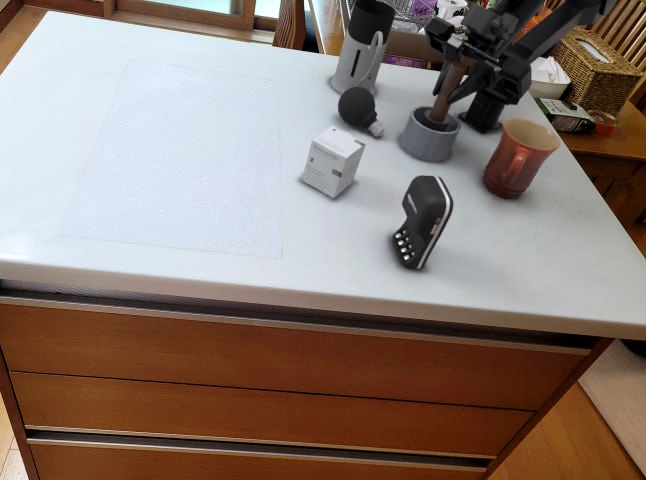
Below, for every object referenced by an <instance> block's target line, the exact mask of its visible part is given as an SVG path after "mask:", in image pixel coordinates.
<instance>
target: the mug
mask: <svg viewBox="0 0 646 480" xmlns="http://www.w3.org/2000/svg"><path fill="white" fill-rule="evenodd" d="M502 124H503V127H502V130H501V135H500V139H499V142H498V144H497V146H496V148H495V149H494V150H493V153H492V154H491V156H490V158H489V160H488V161H487V164H486V165H485V168H484V171H483V173H482V178H481V179H482V183H483V185H484V186H485V188H486V189H487V190H488V191H489V192H490V193H492V194H494V195H495V196H498V197H501V198H504V199H514V198H519V197H521V196H522V195H523V194H524V193H525V192H526V191H527V189H528V188H529V187H531V184H532V183H533V181H534V179H535V177H536V175H538V172H539V170H540V168H541V167H542V165H543V164H544V162H545V161H546V160H547V159H548V158H549V157H550V156H551V155H552V154H553V153H554V152H555V151H557V150H558V149H559V147H560V145H561V141H560V139H559V137H558V136H557V135H556V133H555V132H554V131H552V130H551V129H549V128H548V127H547V126H546V125H545V126H544V125H543V124H541V123H539V122H536V121H533V120H530V119H527V118H520V117H514V118H508V119H507V120H505V121H504V122H503V123H502Z"/></svg>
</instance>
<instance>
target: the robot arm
mask: <svg viewBox="0 0 646 480" xmlns="http://www.w3.org/2000/svg"><path fill="white" fill-rule="evenodd" d="M544 1H545V0H498V1H497V3H496V4H495V5H494V6H493V7H491V6H489V7H487V8H486V7H484V6H481V5H479V4H477V3H475V2H472V3H471V5H470V7H469V8H468V10H467V11H466V13H465V15H464V16H463V18H462V20H461V21H460V26H464V27H466V29H464V37H467V39H466V40H465V39H464V38H463V37H461V36H460V35H458V34H457V32H456V27H455V24H454V23H451V22H449V21H448V20H445V19H444V18H441V17H439V16H435V17H432V18H431V19H429V20H428V22H427V23H426V24H425V25H424V27H423V30H424V34H425V38H426V41H427V45H428V47H429V48H430V49H431V50H433V51H434V52H437V53H438V54H440V55H442V56H444V60H443V63H442V67H441V70H440V73H439V75H438V77H437V80H436V83H435V84H434V87H433V90H432V96H433V97H437V95H438V93H439V91H440V88H441V86H442V83H443V81H444V78H445V76H446V73H447V71H448V68H449V66H450V64H451V62H452V61H458V62H461V63H462V61H461V60H462V59H463V58H464V57H465V58H467V59H469V60H470V61H472V62H474V64H473V69H472V71H470V74H468V75H467V76H466V78H465V79H464V80H462V81H461V83H460V85H459V87H458V88H457V89H456V90H455V91H454V92H453V93H452V94H451V96H450V97H449V99H448V100H447V104H448V105H451V106H452V105H453V104H455V103H457V102H458V101H461V100H462V99H464V98H466V97H468V96H470V95H473V94H475V95H474V96H473V99H472V100H471V103H470V105H469V107H468V109H467V110H466V111H463V112H459V113H458V114H457V118H459V119H461V120H462V121H464V122H465V123H466V124H468V125H469V126H471V127H472V128H474V129H475V130H476V131H478V132H479V133H481V134H485V133H489V132H492V131H494V130H497V129H498V130H499V129H501V128H502V129H503V124H504V123H502V122H500V121H499V119H500V117H501V114H502V112H503V111H504V109H505V108H506V106H507V107H508V106H510V105H512V106H517V105H518V104H519V102H520V100H521V99H522V98H523V97H524V96H525V95H526V93H527V92H528V91H529V89H530V88H531V86H532V79H533V78H532V74H533V70H532V65H531V64H533V63H534V62H535V61H536V60H537V59H539V58H540V57H541V56H543V55H544V54H545V53H546V52H547V51H548V50H549V49H551V48H552V47H553V46H554V45H556V43H558V42H560V40H561V39H563V38H564V37H565V36H566V35H567V34H569V33H570V32H571V31H572V30H573V29H575V28H576V27H581V26H590V25H593V24H595V23H596V22H597V21H599V20H600V19H602V18H603V17H606V16H607V15H608V14H610V12H611V11H612V9H613V8H614V6H615V5H616V3H617V0H562V2H561V4H560V5H558V6H557V7H556V8H555V9H553V10H552V11H551V12H550V13H549V14H547V15H546V16H545V17H543V18H542V19H541V20H540V21H539V22H538V23H536V24H535V25H534V26H533V27H531V28H530V29H529V30H527V31H526V32H525V33H524V34H523V35H521V36H520V37H519V38H518V39H517V37H518V36H519V35H520V33H521V32H522V31H523V30H524V28H525V27H527V25H528V24H529V22H530V21H531V20H532V19H533V18H534V17H536V18H537V17H539V16H540V14H541V12H542V7H543V6H544Z"/></svg>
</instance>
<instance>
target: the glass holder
mask: <svg viewBox="0 0 646 480" xmlns="http://www.w3.org/2000/svg"><path fill="white" fill-rule="evenodd" d="M396 13H397V10H396V8H394V7H393V6H392V5H390V4H388V3H386V2H385V1H381V0H355V1H354V3H353V7H352V11H351V14H350V19H349V22H348V26H347V27H346V30H345V34H344V37H343V42H342V46H341V49H340V54H339V58H338V61H337V65H336V69H335V72H334V75H333V77H332V78H331V79H330V86H331V87H332V88H333V90H334V91H336V92H338V93H340V94H341V95H342V94H343V93H344V92H345V91H346V90H347V89H349V88H352V87H363V88H365V89H367V90H369V91H370V92H371V94H372V95H373V96H374V95H375V92H376V91H375V84H376V80H377V78H378V75H379V70H380V68H381V64H382V61H383V58H384V55H385V52H386V49H387V47H388V46H387V45H388V43H389V38H390V34H391V30H392V27H393V24H394V20H395V17H396Z"/></svg>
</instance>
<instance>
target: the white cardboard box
mask: <svg viewBox="0 0 646 480" xmlns="http://www.w3.org/2000/svg"><path fill="white" fill-rule="evenodd" d="M366 146H367V142H365V141H363V140H361V139H359V138H357V137H355V135H353V134H351V133H349V132H347V131H344V130H342V129H340V128H338V127H336V126H335V125H331V126H330V127H328V128H327V129H326V130H324V131H323V132H322V133H320V134H319V135H317V136H315V137H314V138H313V139H311V144H310V148H309V151H308V155H307V159H306V162H305V165H304V170H303V173H302V177H301V181H302V182H304V183H306V184H307V185H309V186H311V187H312V188H315V189H317V190H318V191H320V192H322V193H323V194H325V195H327V196H328V197H330V198H332V199H335V198H336V197H337V196H339V194H341V193H342V192H343V191H344V190H346V188H348V187H349V186H350V185H351V184H352V183H353V182H354V179H355V176H356V174H357V170H358V168H359V165H360V163H361V160H362V157H363V154H364V151H365V148H366Z"/></svg>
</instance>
